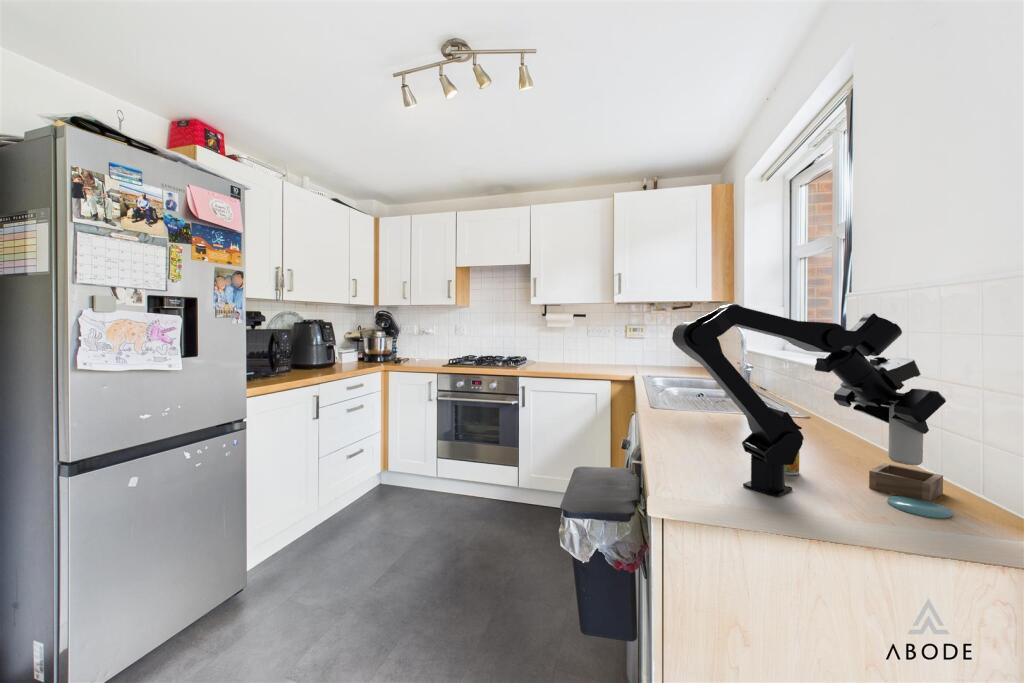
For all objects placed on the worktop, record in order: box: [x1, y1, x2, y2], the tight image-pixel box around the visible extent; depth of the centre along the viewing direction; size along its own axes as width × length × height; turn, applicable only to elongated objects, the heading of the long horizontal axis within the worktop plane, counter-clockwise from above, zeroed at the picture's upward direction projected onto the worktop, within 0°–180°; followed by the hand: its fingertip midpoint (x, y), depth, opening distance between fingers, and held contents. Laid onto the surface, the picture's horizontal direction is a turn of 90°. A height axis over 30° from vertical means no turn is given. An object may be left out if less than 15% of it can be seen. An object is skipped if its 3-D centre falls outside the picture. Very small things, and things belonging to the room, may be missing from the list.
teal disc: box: [887, 495, 953, 519], centre depth 70 cm, size 8×8×1 cm
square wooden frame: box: [868, 463, 944, 502], centre depth 78 cm, size 9×9×4 cm
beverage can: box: [887, 404, 924, 466], centre depth 78 cm, size 5×5×12 cm
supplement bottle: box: [785, 450, 800, 476], centre depth 89 cm, size 5×5×10 cm
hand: (913, 428), depth 78 cm, fingers closed on beverage can, 5 cm apart
